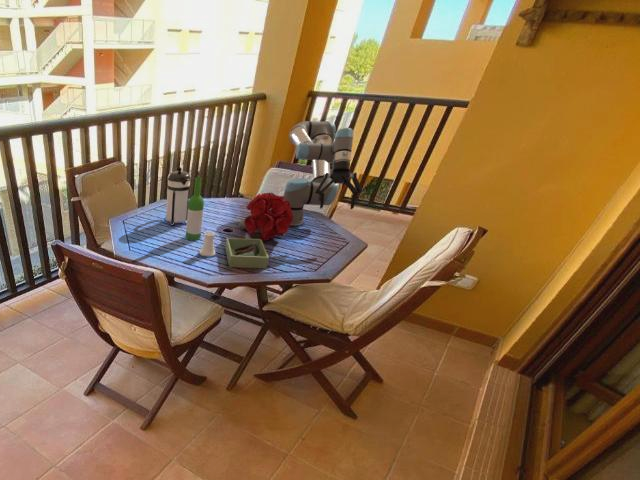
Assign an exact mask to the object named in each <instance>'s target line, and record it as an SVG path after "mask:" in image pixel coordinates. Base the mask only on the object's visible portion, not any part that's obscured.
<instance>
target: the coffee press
mask: <svg viewBox="0 0 640 480" xmlns="http://www.w3.org/2000/svg"><path fill="white" fill-rule="evenodd" d="M182 170H183V169H182V167H181V166H178V167H177V170H175V171H172V172H170V173H168V176H167V177H166V180H167V184H166V189H167V191H166V209H165V210H166V212H165V218H164V219H163V221H164V222H169V223H170V224H173V223H174V224H173V225H170V224H169V226H170V227H174V225H175V224H181V223H184V224H185V225H186V226H187V214H188V203H189V199H190V189H191V180H192V177H191V175H190V173H189V172H187V171H184V170H183V171H182Z"/></svg>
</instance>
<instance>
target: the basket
mask: <svg viewBox="0 0 640 480" xmlns="http://www.w3.org/2000/svg"><path fill="white" fill-rule="evenodd" d="M255 242H258V245H259V247H260V253H259V254H258V255H256V256H235V254H236V252H235V251H234V248H236V247H240V246H243V245H247V244H251V243H255ZM224 250H225V253H226V259H227V263H228V267H229V268H244V269H245V268H246V269H247V268H248V269H268V265H269V260H270V256H269V254H268V252H267V248H266V247H265V245H264V241H263V240H262V238H239V237H237V238H236V237H226V241H225V246H224Z"/></svg>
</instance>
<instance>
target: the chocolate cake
mask: <svg viewBox="0 0 640 480" xmlns="http://www.w3.org/2000/svg"><path fill="white" fill-rule="evenodd" d="M234 251H235V252H236V254H235V256H256V255H258V254H259V253H260V247H259V245H258V242H255V243H251V244H247V245H243V246H240V247H236V248H234Z"/></svg>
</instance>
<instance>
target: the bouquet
mask: <svg viewBox="0 0 640 480" xmlns="http://www.w3.org/2000/svg"><path fill="white" fill-rule="evenodd" d="M269 193H270V192H264V193H258V194H257V195H256V196H255V197H254V198H253V199H251V200H250V201H249V203H248V204H247V205H246V209H247V210H249V211H250V214H249V215H248V216H246V217H245V218H244V219H242V220H240V221H239V224H238V226H239V228H240V230H243V231H244V230H246V231H247V232H248V234H249V235H252V234H254V233H256V232H257V231H258V229H259V230H261V231H260V235H261V236H260V239H261V240H262V242H264V241H269V240H271V239H272V238H275V237H279V236H281V237H283V236H285V235H286V233H288V232H289V228H291V227H290V225H291V223H292V220H293V218H292V217H294V215H292V212H291V207H290V203H289V201H287V200H285V201H283V200H284V199H285V197H283V196H284V195H277V194H275V195H273V194H274V193H273V194H269Z"/></svg>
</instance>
